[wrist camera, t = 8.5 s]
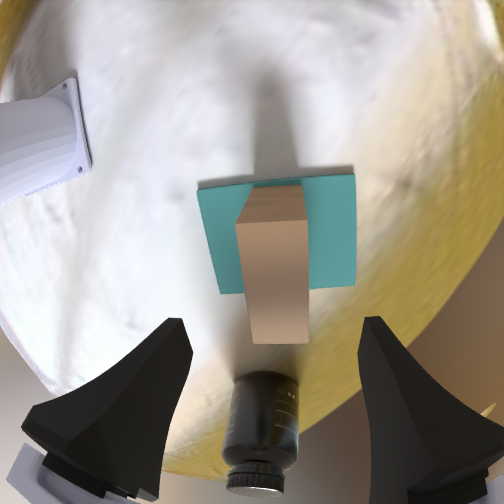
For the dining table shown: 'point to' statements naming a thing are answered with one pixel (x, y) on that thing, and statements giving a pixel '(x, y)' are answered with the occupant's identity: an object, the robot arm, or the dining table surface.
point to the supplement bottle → (261, 434)
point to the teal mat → (319, 229)
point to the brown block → (275, 263)
